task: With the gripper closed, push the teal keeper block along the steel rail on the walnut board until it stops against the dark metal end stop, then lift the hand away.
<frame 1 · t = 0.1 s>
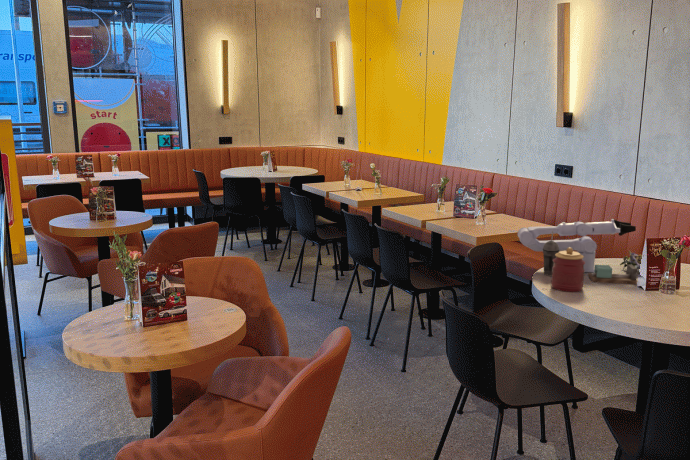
hand: (633, 226, 274), 22 cm above the table, tool horizontal, fingers open, 7 cm apart
passion flower: (631, 271, 280), on the table
keeper: (603, 271, 266), point 4 cm above the table, slide at 0.0 cm
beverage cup: (549, 274, 275), on the table
canister: (566, 288, 254), on the table
rail board: (611, 280, 266), on the table
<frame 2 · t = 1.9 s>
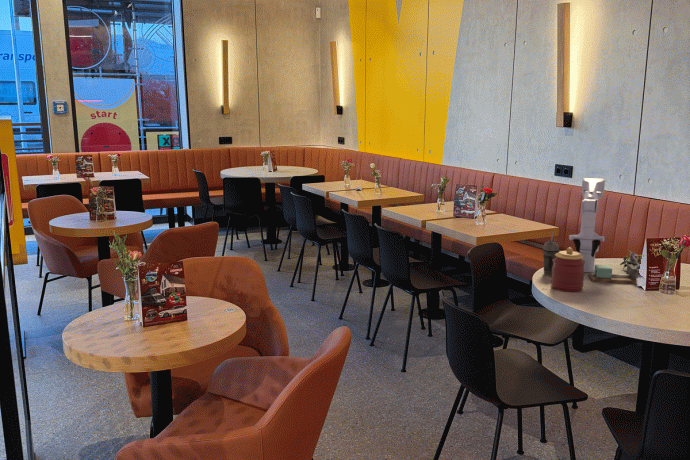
hand: (585, 256, 266), 10 cm above the table, tool pointing down, fingers open, 5 cm apart
nothing on the table moved.
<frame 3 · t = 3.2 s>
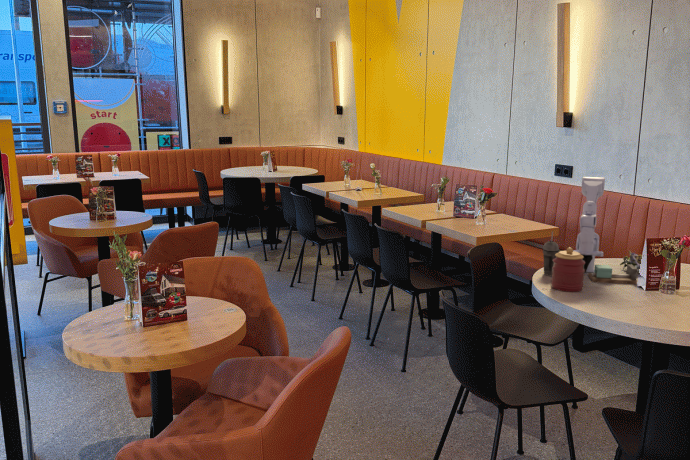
hand: (584, 271, 267), 3 cm above the table, tool pointing down, fingers closed
nothing on the table moved.
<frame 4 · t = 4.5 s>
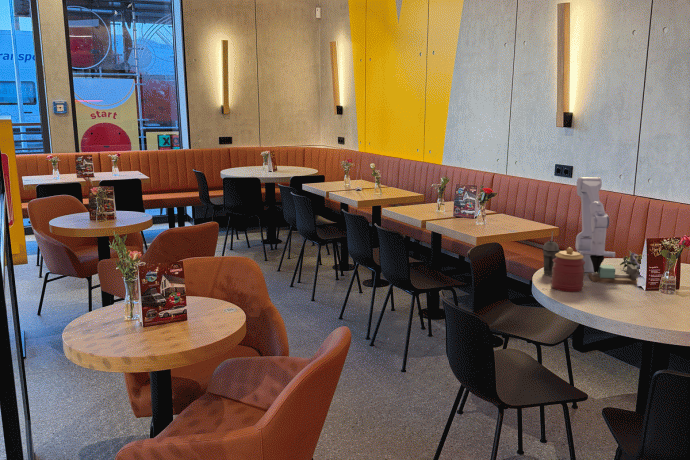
hand: (595, 271, 267), 3 cm above the table, tool pointing down, fingers closed
keeper: (606, 271, 266), point 4 cm above the table, slide at 1.3 cm, touching gripper
everything else where it was.
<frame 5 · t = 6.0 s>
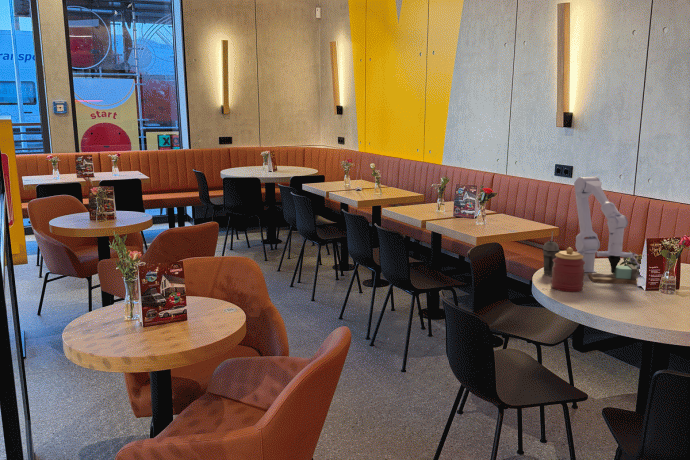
hand: (612, 272, 265), 3 cm above the table, tool pointing down, fingers closed
keeper: (622, 272, 265), point 4 cm above the table, slide at 8.0 cm, touching gripper, rail board
everything else where it was.
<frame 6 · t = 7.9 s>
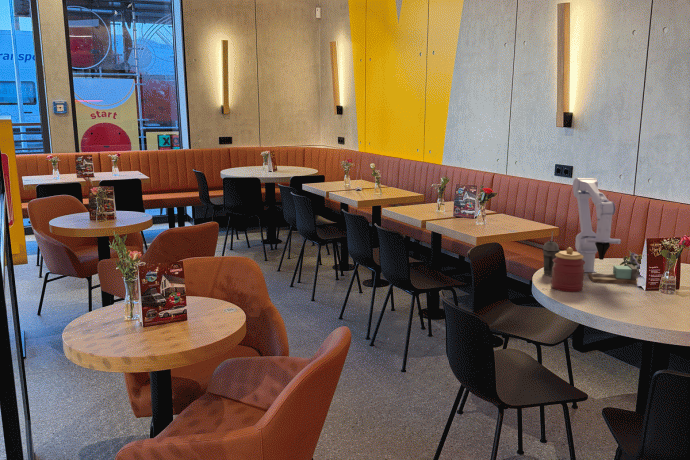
hand: (601, 259, 265), 9 cm above the table, tool pointing down, fingers closed
keeper: (622, 272, 265), point 4 cm above the table, slide at 8.0 cm, touching rail board
everything else where it was.
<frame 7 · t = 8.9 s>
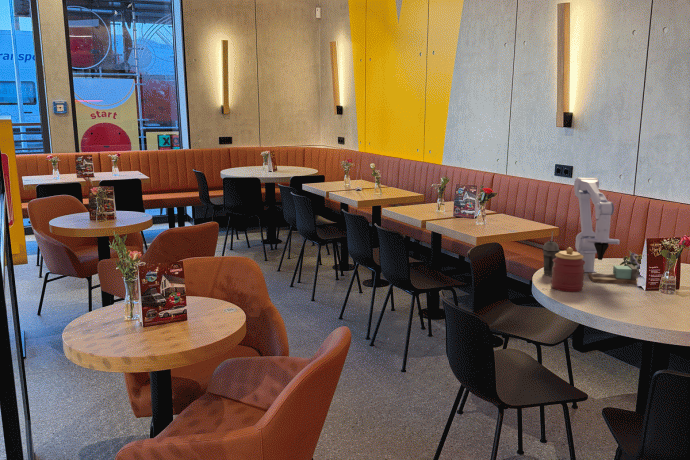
hand: (599, 259, 264), 9 cm above the table, tool pointing down, fingers closed
nothing on the table moved.
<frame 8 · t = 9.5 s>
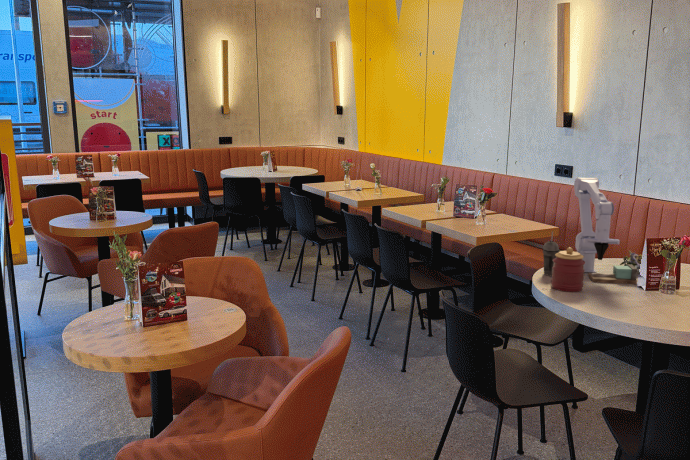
hand: (599, 259, 264), 9 cm above the table, tool pointing down, fingers closed
nothing on the table moved.
at the end: keeper slide at 8.0 cm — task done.
